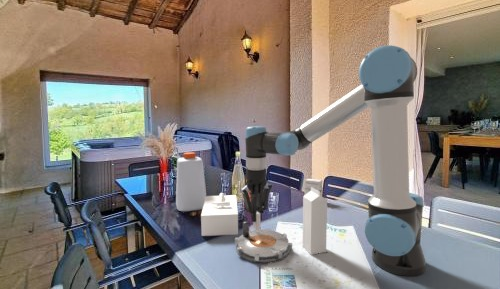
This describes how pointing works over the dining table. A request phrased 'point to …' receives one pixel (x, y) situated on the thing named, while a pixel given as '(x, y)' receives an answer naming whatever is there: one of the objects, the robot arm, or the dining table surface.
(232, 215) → the tissue box
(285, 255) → the sprocket base
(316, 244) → the milk
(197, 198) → the plastic bottle
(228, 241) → the dining table surface
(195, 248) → the dining table surface
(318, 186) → the ink box
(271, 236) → the sprocket
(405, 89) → the robot arm
